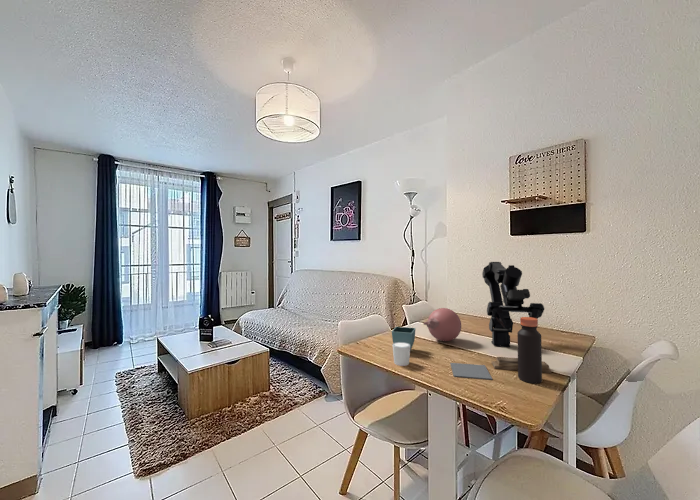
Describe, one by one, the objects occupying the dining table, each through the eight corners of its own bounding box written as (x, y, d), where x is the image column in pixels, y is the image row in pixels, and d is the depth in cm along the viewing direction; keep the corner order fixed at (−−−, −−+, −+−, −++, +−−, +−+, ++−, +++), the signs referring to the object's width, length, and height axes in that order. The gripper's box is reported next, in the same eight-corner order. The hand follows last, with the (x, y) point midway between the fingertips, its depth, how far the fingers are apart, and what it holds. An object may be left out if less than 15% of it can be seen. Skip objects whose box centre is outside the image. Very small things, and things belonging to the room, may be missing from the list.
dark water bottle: (546, 380, 97) (545, 319, 97) (535, 385, 93) (534, 321, 93) (524, 373, 103) (523, 315, 103) (513, 378, 99) (512, 317, 99)
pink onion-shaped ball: (413, 339, 144) (412, 307, 144) (446, 334, 152) (445, 304, 152) (433, 348, 130) (433, 313, 130) (468, 343, 138) (468, 309, 138)
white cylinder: (411, 360, 116) (411, 342, 116) (409, 367, 109) (409, 348, 109) (394, 359, 118) (394, 341, 118) (390, 365, 112) (390, 346, 112)
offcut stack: (494, 368, 107) (494, 360, 107) (491, 363, 112) (491, 355, 112) (551, 372, 103) (551, 364, 103) (545, 367, 108) (545, 359, 108)
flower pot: (391, 352, 126) (391, 331, 126) (396, 346, 134) (396, 326, 134) (412, 354, 122) (412, 333, 123) (416, 348, 131) (415, 328, 131)
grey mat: (453, 376, 101) (453, 375, 101) (450, 363, 112) (450, 362, 112) (492, 379, 98) (492, 378, 98) (484, 366, 109) (484, 365, 109)
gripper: (487, 280, 115) (495, 314, 104) (541, 281, 111) (555, 317, 100) (484, 298, 123) (490, 332, 112) (534, 300, 118) (546, 334, 107)
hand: (519, 328), depth 108 cm, fingers open, 9 cm apart
